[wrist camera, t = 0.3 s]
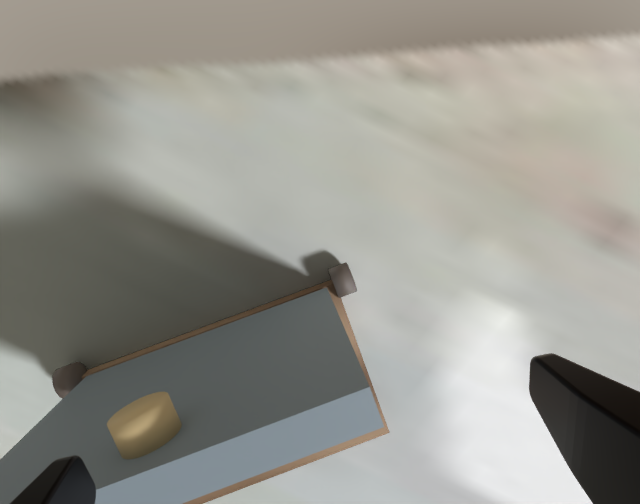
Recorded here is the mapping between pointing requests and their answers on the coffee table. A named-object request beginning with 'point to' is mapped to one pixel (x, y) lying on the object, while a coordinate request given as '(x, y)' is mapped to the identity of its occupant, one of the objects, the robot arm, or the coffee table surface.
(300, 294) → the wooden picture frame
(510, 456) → the coffee table surface
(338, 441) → the door
